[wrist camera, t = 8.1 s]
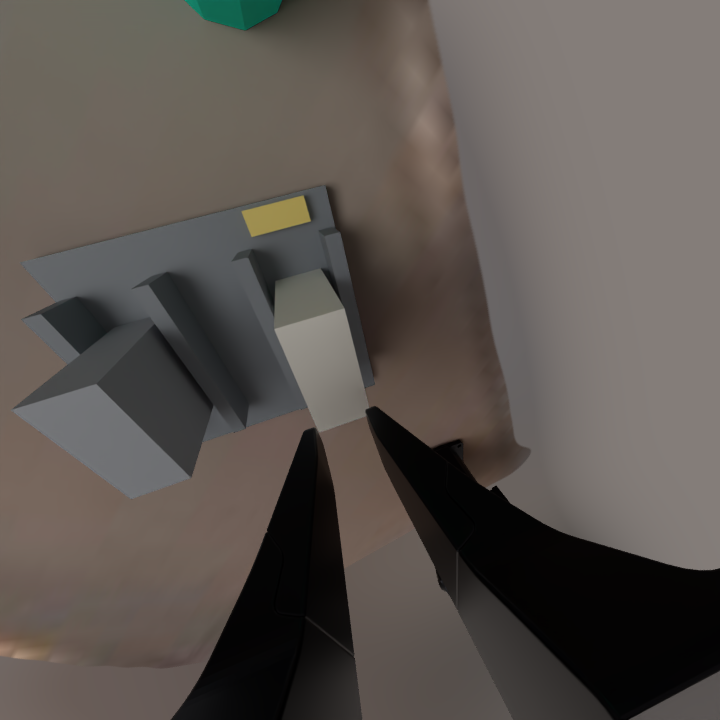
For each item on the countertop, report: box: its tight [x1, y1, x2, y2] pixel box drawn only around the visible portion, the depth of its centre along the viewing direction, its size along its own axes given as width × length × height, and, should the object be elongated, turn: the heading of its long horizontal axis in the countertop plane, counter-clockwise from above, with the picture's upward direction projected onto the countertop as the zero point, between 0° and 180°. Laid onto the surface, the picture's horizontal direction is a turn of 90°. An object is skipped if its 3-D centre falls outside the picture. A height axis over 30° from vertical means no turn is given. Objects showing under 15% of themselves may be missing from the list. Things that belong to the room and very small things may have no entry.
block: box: [274, 268, 369, 432], centre depth 15 cm, size 6×3×7 cm, turn 12°
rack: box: [11, 185, 375, 499], centre depth 15 cm, size 14×15×8 cm
